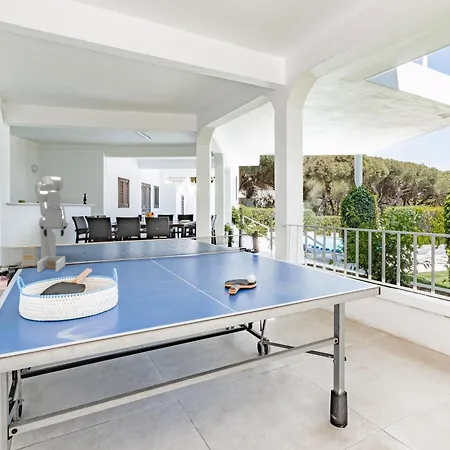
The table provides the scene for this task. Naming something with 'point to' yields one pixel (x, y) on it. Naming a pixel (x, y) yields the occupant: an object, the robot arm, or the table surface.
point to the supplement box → (30, 255)
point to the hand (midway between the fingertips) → (53, 236)
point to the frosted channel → (43, 263)
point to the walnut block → (51, 264)
